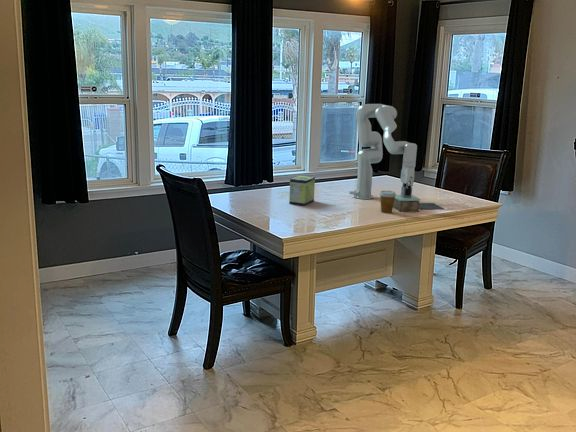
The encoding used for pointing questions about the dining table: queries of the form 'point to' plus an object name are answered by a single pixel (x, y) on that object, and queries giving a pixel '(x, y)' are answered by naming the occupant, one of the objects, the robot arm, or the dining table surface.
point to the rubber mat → (429, 206)
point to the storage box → (406, 206)
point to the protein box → (302, 190)
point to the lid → (406, 196)
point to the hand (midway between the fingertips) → (406, 194)
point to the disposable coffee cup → (387, 201)
